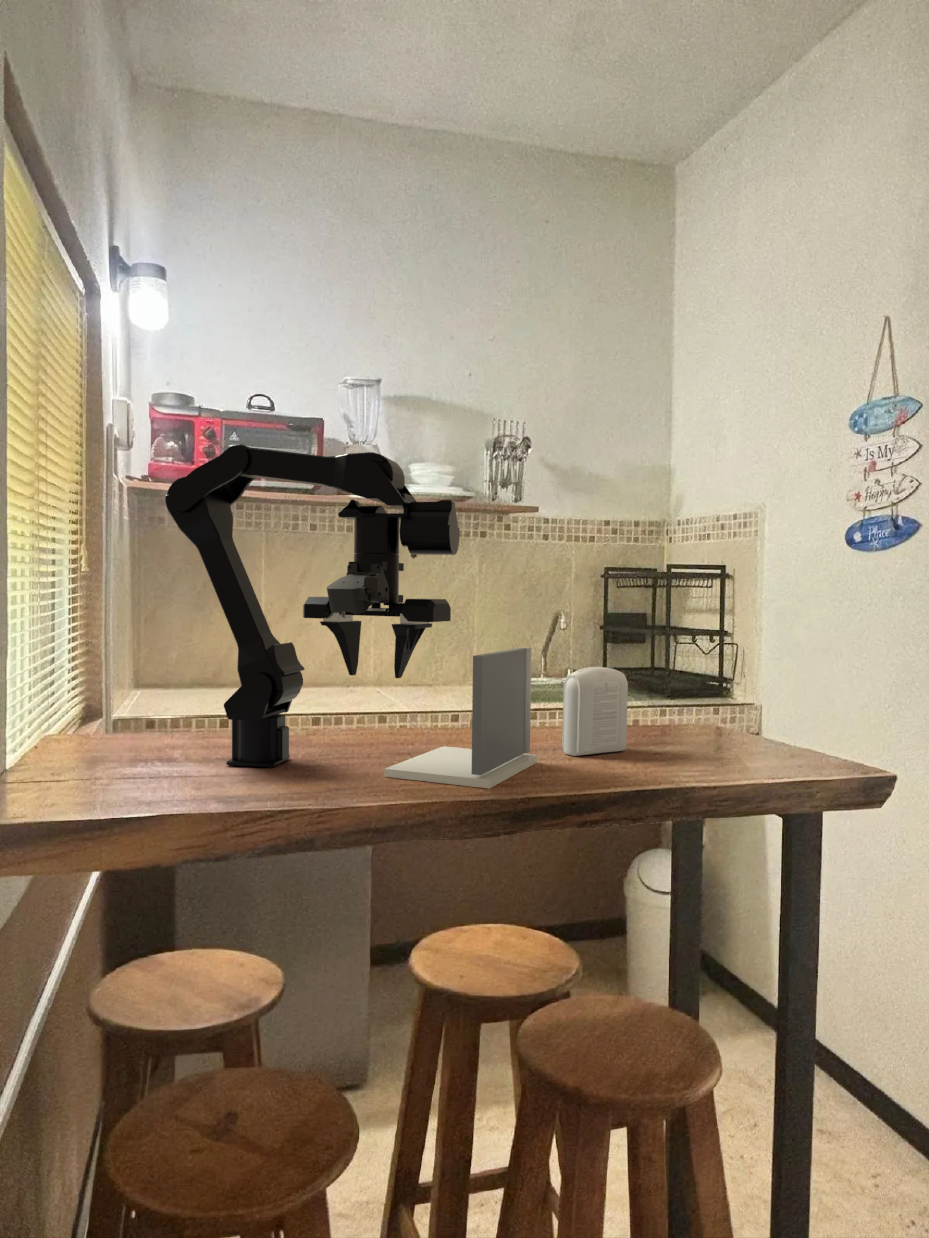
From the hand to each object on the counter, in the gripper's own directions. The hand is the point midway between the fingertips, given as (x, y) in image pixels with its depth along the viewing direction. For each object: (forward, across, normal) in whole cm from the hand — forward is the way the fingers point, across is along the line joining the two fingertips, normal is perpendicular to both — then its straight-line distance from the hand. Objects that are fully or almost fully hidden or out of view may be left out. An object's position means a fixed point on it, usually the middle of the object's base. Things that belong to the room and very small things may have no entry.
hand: (375, 676), depth 109 cm
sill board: (+12, +10, +5) cm, 17 cm away
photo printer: (+12, +22, +25) cm, 35 cm away
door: (+10, +15, +5) cm, 19 cm away
